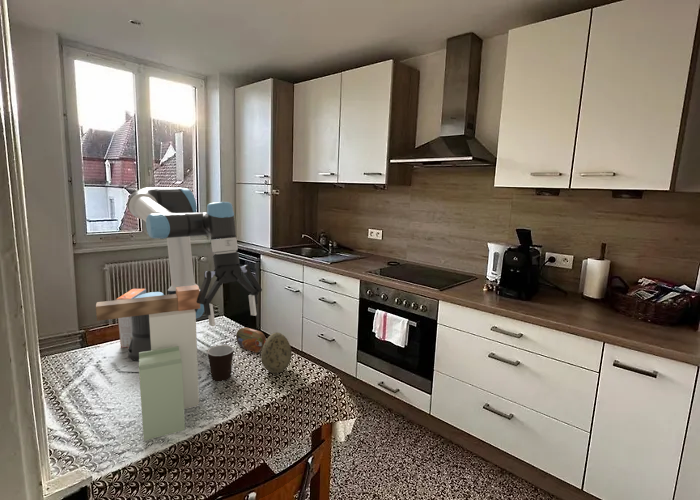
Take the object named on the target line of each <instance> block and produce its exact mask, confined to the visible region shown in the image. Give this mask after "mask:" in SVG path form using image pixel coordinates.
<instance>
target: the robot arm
mask: <svg viewBox="0 0 700 500" xmlns="http://www.w3.org/2000/svg"><path fill="white" fill-rule="evenodd" d="M126 205H127V209H128V212H129V213H130V214H131V215H133V217H134V218H137V219H140V220H143V221H144V222H145V227H146V233H147V235H148V236H149V238H151V239H164V240H165V239H166V242H167V252H168V253H167V254H168V261H169V263H168V264H169V273H170V284H171V285H170V286H169V288H168V289H167V295H171V294H176V287H182V286H192V285H197V286H198V287H199V288H200V292H199V295H198V298H197V301H196V302H197V303H199V304H200V309H195V312H196V319H199V318H201V317H202V316H203V314H204V315H205V316H207V318H208V325H209V326H211V327H215V326H216V321H215V313H214V306H213V305H214V304H212V303H211V302H212V300H213V299H214V297H215V295H216V294H217V292H218V291H219V289H220V287H221V286H222V285H223V284H229V283H231V282H232V283H235V282H237V283H238V284H240V286H242V288H244V289H245V290H246V291H247V292H248V293H249V295H248V296H247V297H248V302H249V311H250V316H255V317H256V316H257V314H258V313H257V308H256V307H257V306H256V305H258V295H259V293H261V292H262V291H263V289H262V287H261V286H260V284H259V282H258V280H257V279H256V277H255V276H254V275H253V273H252V270H251V266H250V265H249V264H244V265H242V266H240V255H239V252H238V241H237V232H236V231H237V230H236V223H235V222H236V221H235V212H234V208H233V204H232V202H230V201H218V202H217V201H216V202H210V203H208V204H207V206H206V211H205V212H204V211H203V212H200V211H199V212H197V209H198V207H197V200H196V198H195V196H194V194H193V192H192V191H191V189H189V188H187V187H178V186H177V187H173V186H171V187H166V186H163V187H159V186H158V187H156V186H154V187H153V186H149V187H148V186H147V187H143V188H142V187H141V188H139V189H138V190H136V191H134V192H133V193H131V195H129V197H128V199H127V203H126ZM203 236H204V237H210V242H211V243H210V244H211V249H212V250H211V251H212V253H214V254H213V255H212V258H213V267H214V269H213V270H214V271H213V270H212V271H211V270H205V271H204V273H203V274H204V275H203V282H202V285H201V287H200V286H199V285H198V284H197V283H196V282H195V276H194V275H195V274H194V266H193V265H194V264H193V254H192V243H191V242H192V241H191V237H203ZM241 272H242V273H243V274H244V275H245V277H246V278H247V280H248V282H249V283H250V284H251V285H250V284H249V283H248V282H247V280H245V279H244V277H243V276H242V275H240V274H241ZM214 276H215V277H216V279H215V280H214V283H213V285H212V286H211V288H210V287H209V286H210V284H211V280H212V278H214ZM209 288H210V289H209ZM208 291H209V292H208ZM161 295H165V293H163V292H161V291H151V292H146V293H145V294H142V295H139V296H137V297H135V298H142V297H152V296H161ZM131 326H132V339H131V342H130V346H129V348H128V350H127V357H128V359H130V360H132V361H135V362H139V352H145V351H151V339H150V323H149V314H148V315H140V316H132V317H131Z"/></svg>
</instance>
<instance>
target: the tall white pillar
mask: <svg viewBox="0 0 700 500" xmlns="http://www.w3.org/2000/svg"><path fill="white" fill-rule="evenodd" d="M149 323H150V339H151V350H158V349H164V348H170V347H176V346H179V352H180V357H181V359H182V379H183V400H184V410H186V409H190V408H195V407H198V406H199V407H200V395H199V394H200V391H199V390H200V389H199V388H200V387H199V365H198V342H197V341H198V340H197V339H198V338H197V318H196V312H195V309H192V310H184V311H172V312H164V313H156V314H149Z"/></svg>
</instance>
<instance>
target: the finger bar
mask: <svg viewBox="0 0 700 500" xmlns="http://www.w3.org/2000/svg"><path fill="white" fill-rule="evenodd" d="M197 285H198V284H197ZM197 285H192V286H182V287H176V294H171V295H168V294H164V295H161V296H152V297H142V298H133V299H123V300H116V299H114V300H106V301H104V300H103V301H97V302H96V304H95V313H96V315H95V316H96V322H99V321H106V320H115V319H118V318H124V317H132V316H140V315H148V314H156V313H164V312H172V311H184V310H192V309H200V304H199V303H197V302H196V301H197V298H198V295H199V292H200V290H201V288H200V286H199V285H198V286H199V287H198V286H197Z"/></svg>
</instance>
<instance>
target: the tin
mask: <svg viewBox="0 0 700 500" xmlns="http://www.w3.org/2000/svg"><path fill="white" fill-rule="evenodd" d="M235 337H236V342H237V344H238V346H239V347H240V348H242V349H243V350H247V351H251V352H253V353H256V354H257V353H260V352H262V348H263V345H264V343H265V341H266V340H267V338H266V336H265V334H264V333H263V332H262V331H260V330H257V329H254V328H249V327H242V328H239V329H238V330H237V331H236V336H235Z"/></svg>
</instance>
